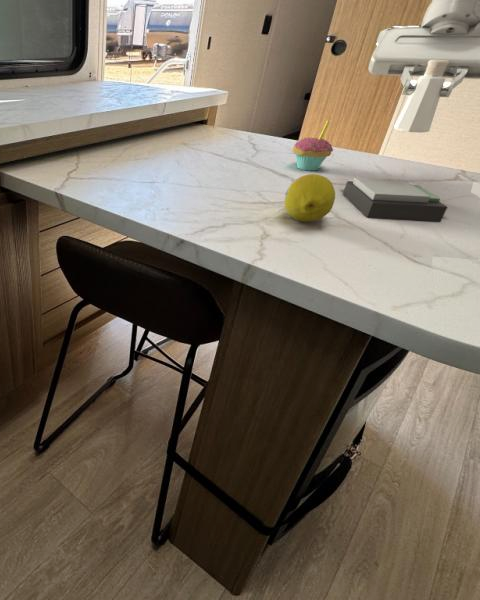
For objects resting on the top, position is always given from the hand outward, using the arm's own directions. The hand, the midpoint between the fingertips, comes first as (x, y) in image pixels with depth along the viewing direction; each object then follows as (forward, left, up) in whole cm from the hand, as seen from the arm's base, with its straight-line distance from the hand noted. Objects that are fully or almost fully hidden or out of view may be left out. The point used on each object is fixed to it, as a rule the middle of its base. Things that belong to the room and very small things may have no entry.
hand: (426, 93), depth 72 cm
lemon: (+18, +13, -20) cm, 30 cm away
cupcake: (+8, -23, -20) cm, 31 cm away
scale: (0, +3, -19) cm, 20 cm away
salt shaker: (0, -1, -6) cm, 6 cm away
